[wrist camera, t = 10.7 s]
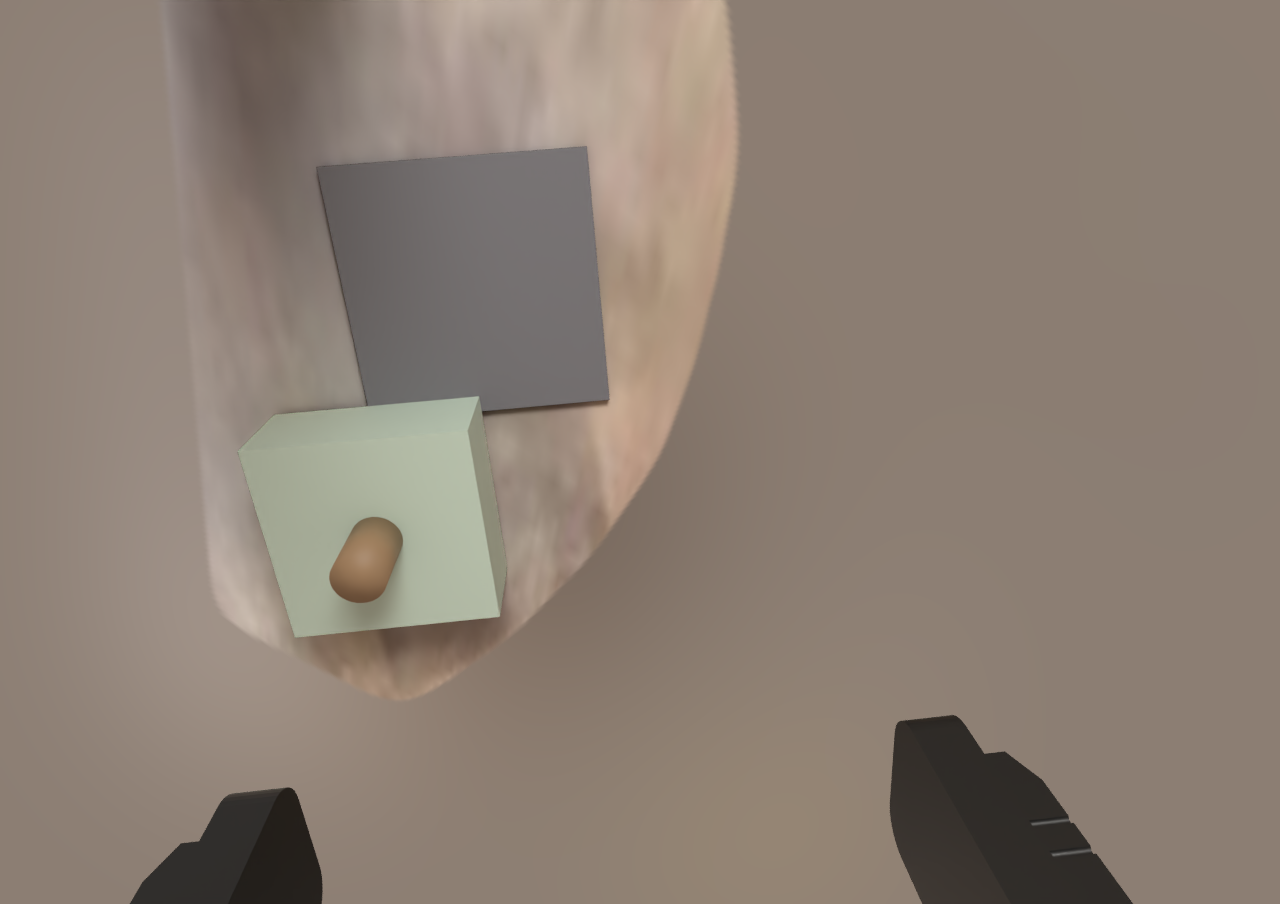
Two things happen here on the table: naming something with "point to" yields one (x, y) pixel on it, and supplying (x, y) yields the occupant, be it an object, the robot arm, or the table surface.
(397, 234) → the mat
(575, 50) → the table surface
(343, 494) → the cover
